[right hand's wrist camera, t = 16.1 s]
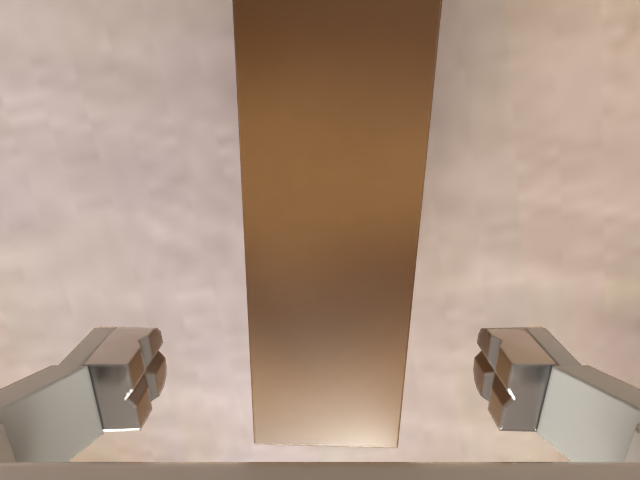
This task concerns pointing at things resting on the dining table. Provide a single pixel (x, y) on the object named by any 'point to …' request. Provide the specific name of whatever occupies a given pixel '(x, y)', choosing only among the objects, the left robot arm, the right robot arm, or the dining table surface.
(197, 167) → the dining table surface
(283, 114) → the bar
